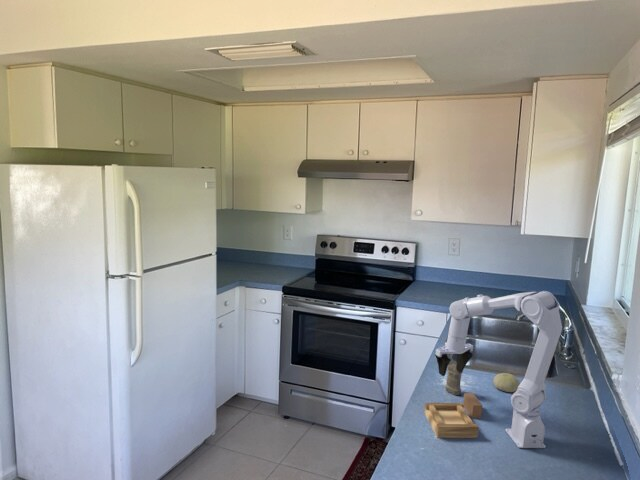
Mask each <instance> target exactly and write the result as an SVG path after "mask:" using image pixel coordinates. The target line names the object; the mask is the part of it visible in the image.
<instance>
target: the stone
mask: <svg viewBox="0 0 640 480" xmlns="http://www.w3.org/2000/svg"><path fill="white" fill-rule="evenodd" d="M456 365H457V363H456V364H455V363H452V362H451V363H449V364H448V367H447V370H446V371H447V373H446V374H447V376H446V381H445V382H446V384H445V391H446V392H447V393H449V394H452V395H454V396H460V395H461V393H462V388H461V381H462V379H461V378H462V374H463V371H464V370H463V371H462V372H461V373H460V372H459V371H457V370H456Z"/></svg>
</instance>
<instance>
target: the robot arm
mask: <svg viewBox="0 0 640 480" xmlns="http://www.w3.org/2000/svg"><path fill="white" fill-rule="evenodd" d="M560 305H561V304H560V302H559V300H557V298H556V296H554V294H553V293H552V292H550V291H547V290H542V291H539V292H537V291H528V292H527V291H526V292H520V293H513V294H510V295H505V296H499V297H496V298H494V297H493V298H491V297H490V296H489V295H484V294H477V295H476V297H469V296H467V297H465V298H463V299H459V300H456V301H453V302H452V303H451V304H450V305H449V308H448V309H449V315H451V318H450V323H449V329H448V334H447V335H448V336H447V339H446V342H444V345H443V346H441V347H438V348H436V349H435V352H434V356H435V358H436V361H437V365H438V374H439V375H441V376H442V377H445V376H446V374H447V371H448V370H447V368H448V365H449V364H450V362H451V361H452V359H450V358H449V357H448V355H451V354H453V355H456V370H457V371H459V372H460V373H461V372H462V371H464V369H465V367H466V365H467V364H468V362H469V361H470V359H472V358H473V356H474V354H473V353H472V352H473V351H474V345H473V344H471V343H466V342H467V335H468V331H469V325H470V321H471V318H473V317H480V316H485V315H486V316H487V315H491V314H492V313H493V312H494V310H497V309H498V310H499V309H507V308H515V309H516V311H518V312H522V314H524V316H525V317H526V318H528V320H530V322H532V323H533V324H534V325H535V326H536V328H538V330H539V332H538V335H537V339H536V341H535V344H534V348H533V350H532V353H531V355H530V356H531V357H530V359H529V363H528V365H527V368H526V369H527V370H525V371H526V372H525V375H524V378H523V379H522V381H521V382H520V385H519V386H518V389H517V391H515V392H513V393H512V395H511V396H510V403H511V406H512V407H513V409H512V410H513V411H512V421H511V426H510V427H511V428H505V432H506V433H507V434H508V436H509V437H510V439H512V441H513V442H514V444H515V445H516V446H517V447H518V448H519V449H546V445H545V444H544V440H545V439H544V438H545V433H546V432H545V431H546V427H545V425H544V422H543V421H542V419H541V405H543V404H544V403H545V401H546V399H547V397H546V388H547V385H546V384H545V380H546V378H547V375H548V372H549V369H550V366H551V363H552V360H553V357H554V354H555V351H556V349H557V346H558V344H559V340H560V337H561V334H562V331H563V325H562V320H561V314H560ZM462 373H463V372H462Z"/></svg>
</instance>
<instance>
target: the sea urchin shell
mask: <svg viewBox="0 0 640 480" xmlns="http://www.w3.org/2000/svg"><path fill="white" fill-rule="evenodd" d="M492 382H493V385H494V387H495V388H496V389H497V390H500V391H502V392H507V393H515V392H516V391H517V389H518V386H519V385H520V384H521V382H520V380H519V379H518V378H517V377H516V376H515V375H514V374H511V373H510V372H502V373H501V372H500V373H498V374H496V375H495V376H494V377H493V379H492Z"/></svg>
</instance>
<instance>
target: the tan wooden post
mask: <svg viewBox="0 0 640 480" xmlns="http://www.w3.org/2000/svg"><path fill="white" fill-rule="evenodd" d="M462 404H463V405H464V407H463V409H464V410H465V411H466V413H467V414H468V416H469V417H470V419H482V413H483V412H482V411H483V404H482V403H481V402H480V401H479V399H478V398H477V396H476V395H475V394H474V393H472V392H471V393H469V392H468V393H466V392H464V393H463V402H462Z"/></svg>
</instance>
